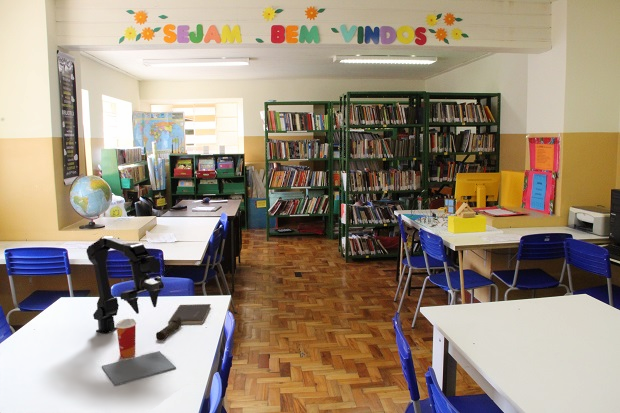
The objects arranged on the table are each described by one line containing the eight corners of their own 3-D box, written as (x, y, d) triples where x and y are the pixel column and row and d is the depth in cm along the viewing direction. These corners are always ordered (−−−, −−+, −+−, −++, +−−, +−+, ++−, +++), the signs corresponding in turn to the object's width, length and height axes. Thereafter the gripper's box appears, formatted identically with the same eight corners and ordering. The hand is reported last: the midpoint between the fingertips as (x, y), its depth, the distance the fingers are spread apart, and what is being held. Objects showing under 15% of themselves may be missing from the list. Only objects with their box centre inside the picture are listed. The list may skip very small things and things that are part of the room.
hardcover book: (210, 308, 254) (210, 304, 254) (202, 324, 231) (202, 320, 231) (179, 309, 254) (179, 304, 253) (168, 325, 231) (167, 320, 230)
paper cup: (120, 351, 201) (118, 318, 199) (140, 350, 202) (138, 317, 200) (114, 359, 194) (112, 325, 192) (135, 359, 194) (133, 324, 192)
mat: (101, 367, 187) (101, 365, 187) (159, 352, 200) (159, 350, 200) (114, 385, 173) (114, 384, 173) (175, 368, 186) (175, 367, 186)
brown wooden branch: (164, 341, 212) (163, 330, 211) (155, 340, 213) (155, 330, 212) (186, 325, 230) (185, 315, 229) (178, 324, 231) (178, 315, 230)
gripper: (134, 278, 196) (141, 317, 196) (169, 267, 212) (176, 303, 212) (116, 279, 202) (123, 317, 202) (152, 269, 218) (158, 304, 218)
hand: (146, 310), depth 209 cm, fingers open, 9 cm apart
